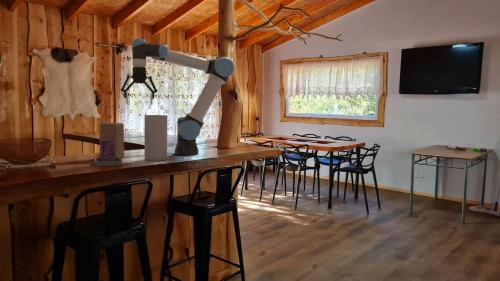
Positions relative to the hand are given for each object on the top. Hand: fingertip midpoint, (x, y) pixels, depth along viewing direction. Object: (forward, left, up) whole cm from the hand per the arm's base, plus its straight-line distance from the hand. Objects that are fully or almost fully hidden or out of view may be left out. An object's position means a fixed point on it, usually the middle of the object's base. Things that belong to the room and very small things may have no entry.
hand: (139, 104), depth 231 cm
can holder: (+18, +21, -31) cm, 41 cm away
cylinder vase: (-8, +10, -31) cm, 33 cm away
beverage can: (+18, +21, -30) cm, 41 cm away
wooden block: (+15, 0, -31) cm, 34 cm away
